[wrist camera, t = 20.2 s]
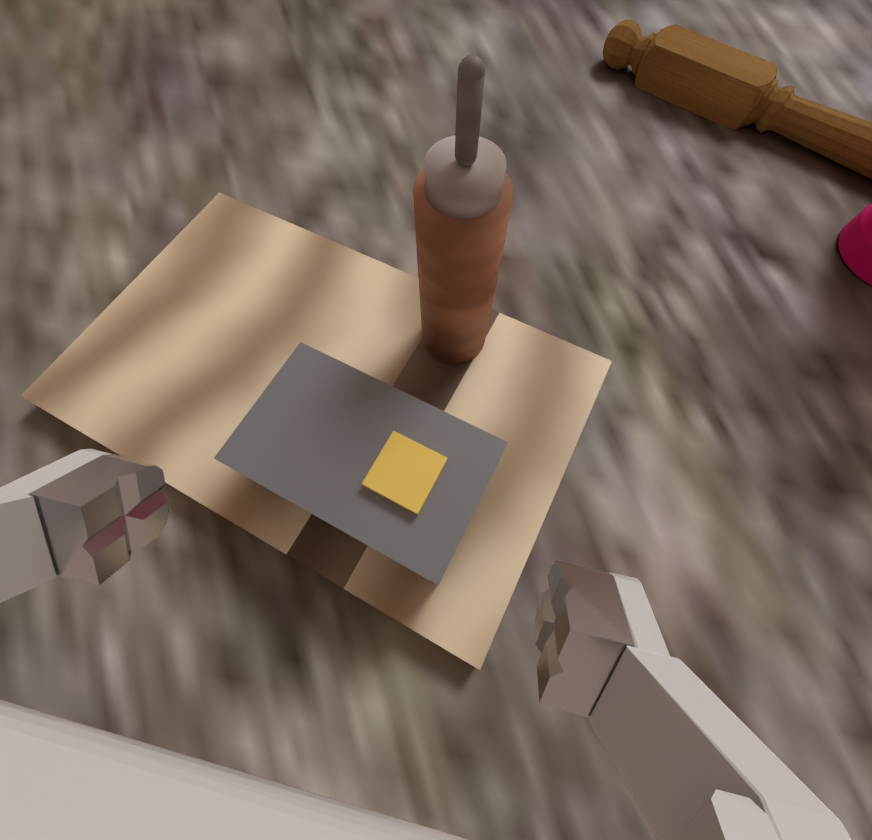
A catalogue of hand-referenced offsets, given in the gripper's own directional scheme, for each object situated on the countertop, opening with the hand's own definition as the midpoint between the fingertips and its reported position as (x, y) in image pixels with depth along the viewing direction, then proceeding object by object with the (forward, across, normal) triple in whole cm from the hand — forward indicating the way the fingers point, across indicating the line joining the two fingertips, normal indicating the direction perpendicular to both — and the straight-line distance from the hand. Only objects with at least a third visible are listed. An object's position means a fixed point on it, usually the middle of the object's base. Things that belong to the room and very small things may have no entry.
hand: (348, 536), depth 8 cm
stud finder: (+10, -2, -5) cm, 11 cm away
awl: (+16, 0, +1) cm, 16 cm away
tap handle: (+33, +20, +15) cm, 41 cm away
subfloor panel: (+14, -6, -3) cm, 15 cm away
